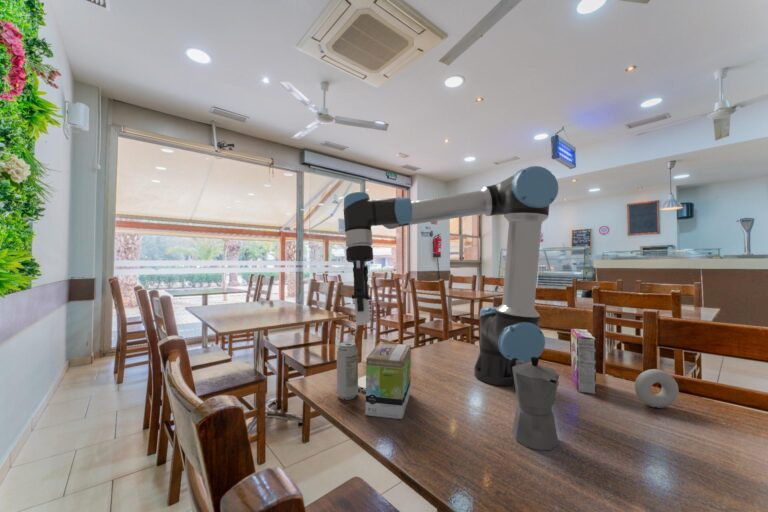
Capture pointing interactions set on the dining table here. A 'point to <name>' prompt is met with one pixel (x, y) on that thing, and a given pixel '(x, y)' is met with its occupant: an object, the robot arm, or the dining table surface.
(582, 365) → the candy bar box
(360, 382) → the pad
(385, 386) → the tea box
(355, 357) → the energy drink can
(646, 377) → the donut
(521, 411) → the coffeepot
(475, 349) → the dining table surface
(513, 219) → the robot arm
